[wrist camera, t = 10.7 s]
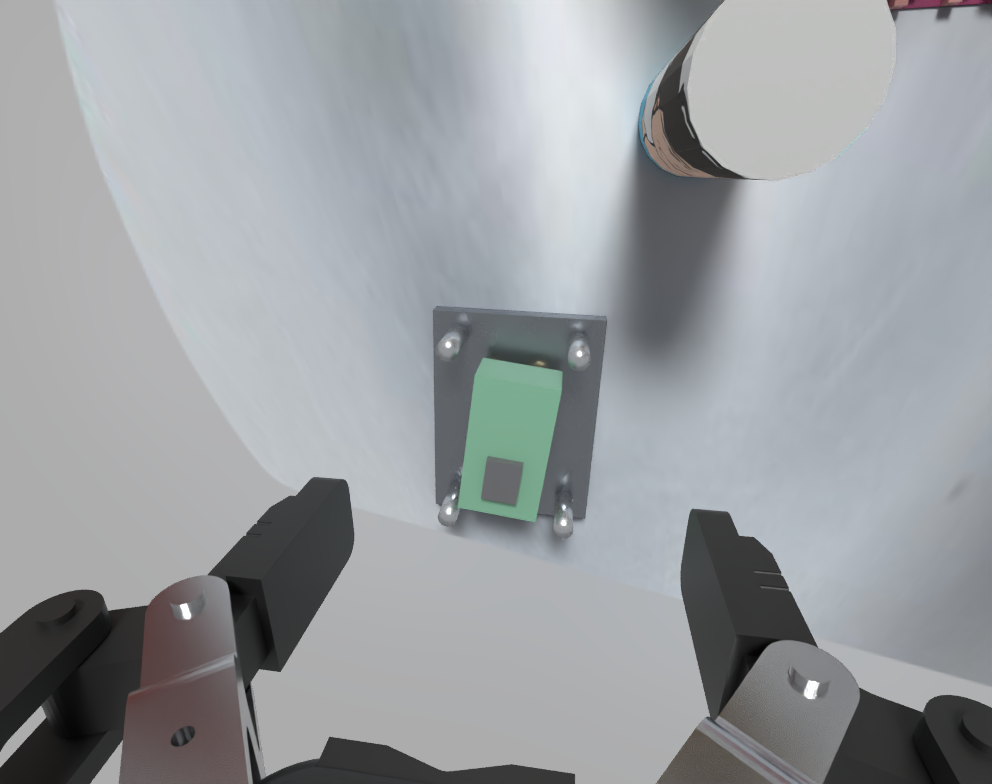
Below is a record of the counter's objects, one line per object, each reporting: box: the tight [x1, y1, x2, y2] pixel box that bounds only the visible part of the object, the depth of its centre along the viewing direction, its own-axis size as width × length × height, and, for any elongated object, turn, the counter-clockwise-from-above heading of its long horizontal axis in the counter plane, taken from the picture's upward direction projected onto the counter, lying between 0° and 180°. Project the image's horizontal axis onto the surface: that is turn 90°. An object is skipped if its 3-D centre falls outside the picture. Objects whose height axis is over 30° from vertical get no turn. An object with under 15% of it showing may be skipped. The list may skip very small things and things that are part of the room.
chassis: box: [433, 306, 607, 538], centre depth 39 cm, size 16×12×5 cm
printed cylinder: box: [638, 0, 896, 180], centre depth 26 cm, size 7×7×15 cm
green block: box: [458, 358, 563, 522], centre depth 37 cm, size 10×6×4 cm, turn 172°
